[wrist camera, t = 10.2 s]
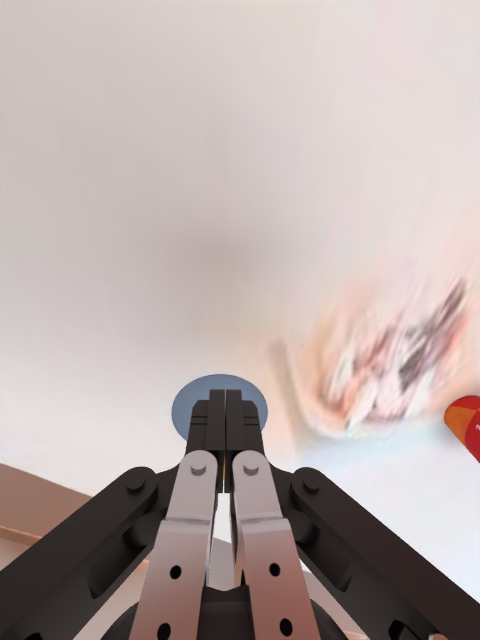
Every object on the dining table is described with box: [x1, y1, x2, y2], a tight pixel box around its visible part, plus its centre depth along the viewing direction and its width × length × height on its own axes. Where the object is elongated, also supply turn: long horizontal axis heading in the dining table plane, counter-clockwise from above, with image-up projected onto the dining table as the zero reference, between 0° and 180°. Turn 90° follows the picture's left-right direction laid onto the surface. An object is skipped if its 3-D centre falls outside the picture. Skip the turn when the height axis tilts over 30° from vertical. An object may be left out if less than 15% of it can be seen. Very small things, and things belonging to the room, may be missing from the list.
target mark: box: [172, 375, 268, 441], centre depth 35 cm, size 12×12×1 cm
